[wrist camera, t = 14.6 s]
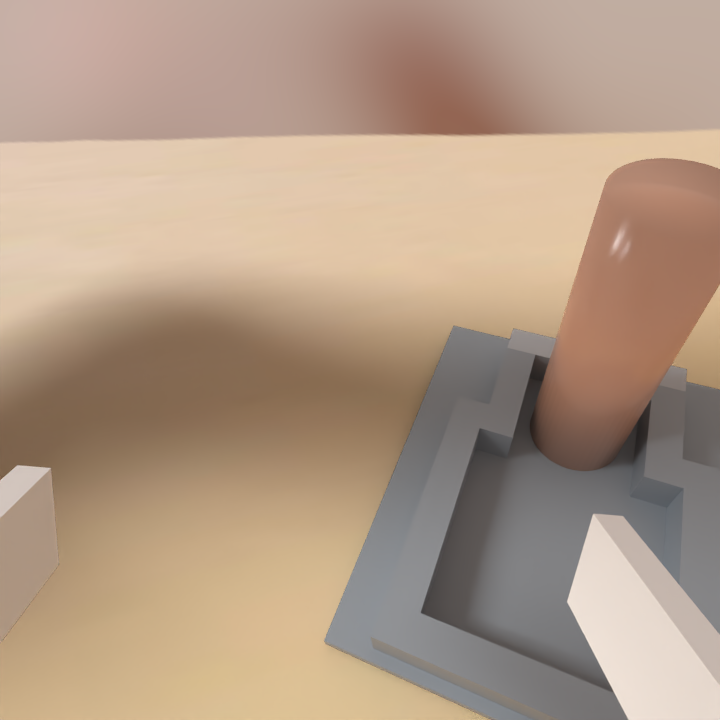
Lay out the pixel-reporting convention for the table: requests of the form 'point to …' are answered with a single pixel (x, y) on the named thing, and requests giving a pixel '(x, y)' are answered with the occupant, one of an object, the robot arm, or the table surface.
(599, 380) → the tall peach cylinder
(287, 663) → the table surface
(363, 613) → the keyhole board
